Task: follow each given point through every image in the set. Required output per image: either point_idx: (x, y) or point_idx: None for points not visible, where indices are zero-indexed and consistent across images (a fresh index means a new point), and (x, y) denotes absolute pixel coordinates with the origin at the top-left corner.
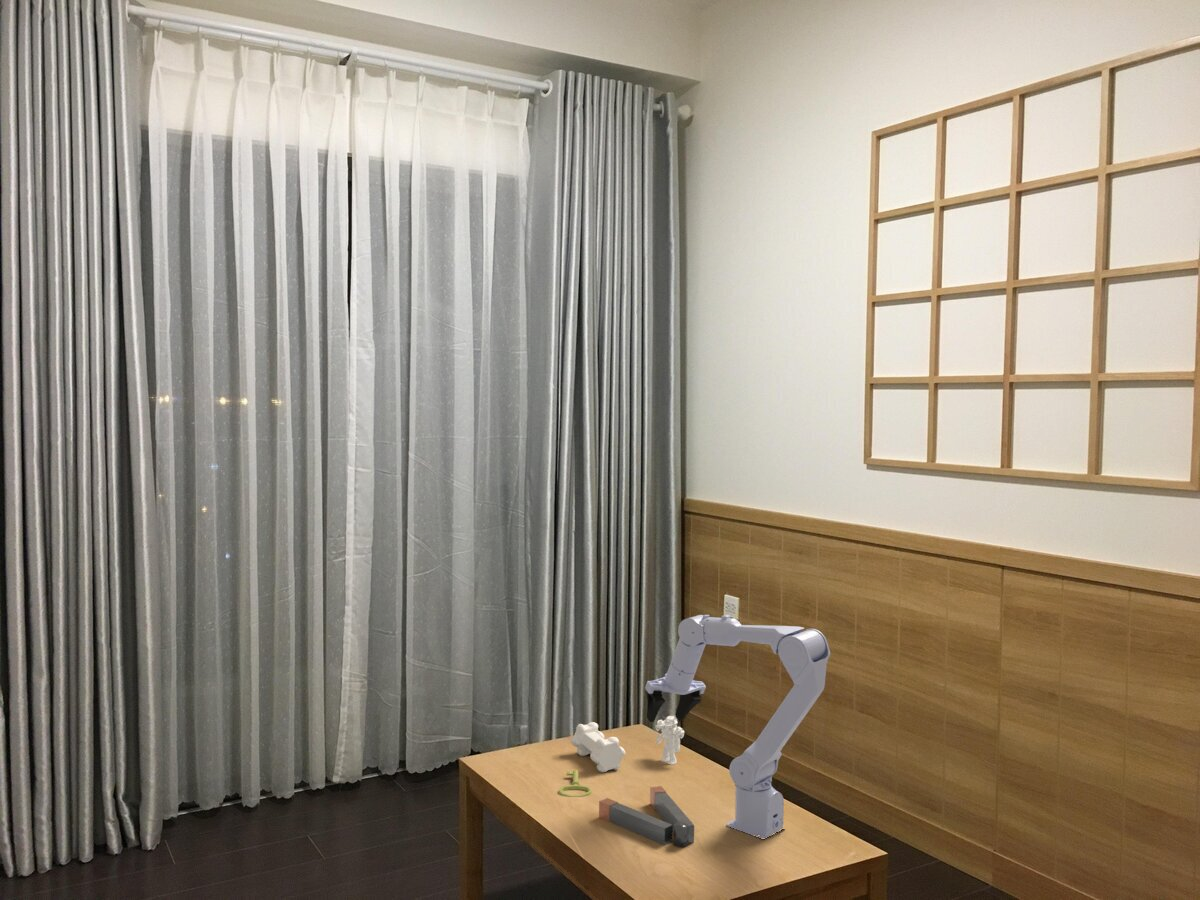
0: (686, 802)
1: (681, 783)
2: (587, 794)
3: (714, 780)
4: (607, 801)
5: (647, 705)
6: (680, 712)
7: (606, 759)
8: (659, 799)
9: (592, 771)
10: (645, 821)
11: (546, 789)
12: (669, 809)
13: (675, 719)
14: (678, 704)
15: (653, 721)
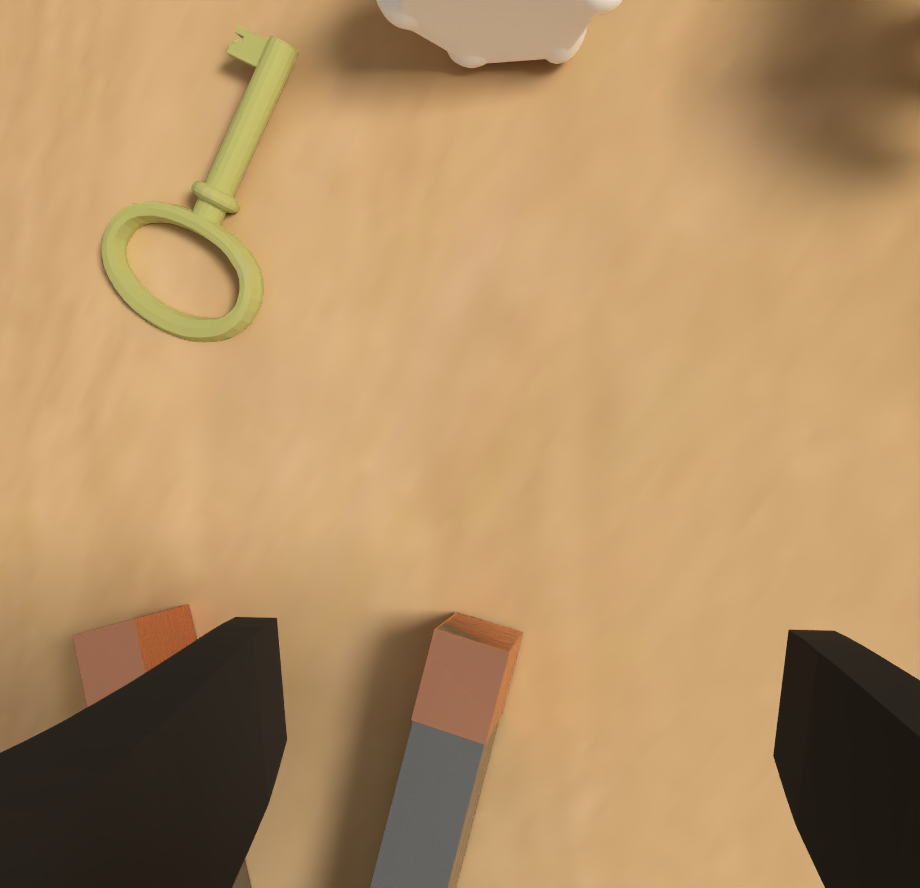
0: (673, 700)
1: (828, 430)
2: (215, 336)
3: None
4: (109, 662)
5: (101, 705)
6: (835, 797)
7: (467, 23)
8: (392, 805)
9: None
10: None
11: (87, 160)
12: None
13: None
14: (904, 722)
15: (276, 757)
